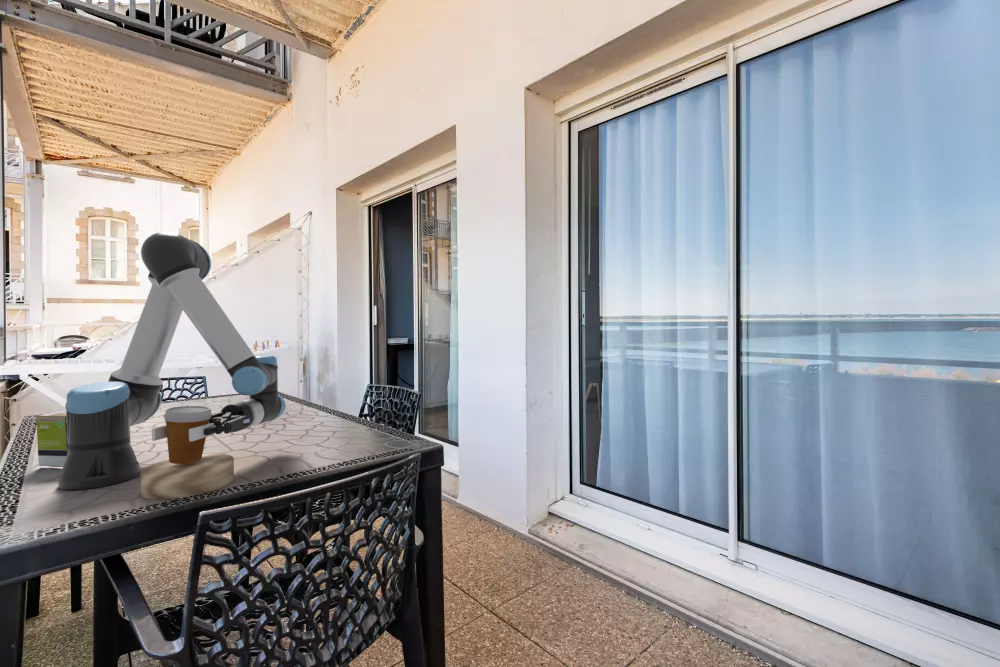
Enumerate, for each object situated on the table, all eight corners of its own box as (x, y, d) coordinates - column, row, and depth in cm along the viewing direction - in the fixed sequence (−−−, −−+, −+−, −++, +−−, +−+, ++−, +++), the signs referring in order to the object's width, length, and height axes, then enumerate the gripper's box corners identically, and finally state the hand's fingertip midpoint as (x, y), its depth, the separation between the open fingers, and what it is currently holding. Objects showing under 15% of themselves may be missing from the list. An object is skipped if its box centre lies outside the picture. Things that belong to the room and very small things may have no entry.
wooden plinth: (119, 498, 100) (118, 475, 100) (186, 472, 118) (185, 453, 118) (194, 501, 97) (193, 477, 97) (250, 474, 115) (250, 454, 115)
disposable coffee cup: (191, 468, 103) (195, 414, 103) (149, 464, 103) (153, 411, 103) (218, 456, 112) (221, 407, 112) (180, 452, 112) (183, 404, 112)
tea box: (94, 453, 138) (93, 404, 138) (123, 454, 136) (121, 405, 136) (36, 469, 123) (35, 414, 123) (67, 470, 121) (65, 414, 121)
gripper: (278, 429, 124) (215, 452, 101) (206, 428, 127) (130, 450, 104) (277, 402, 124) (214, 418, 101) (205, 401, 126) (129, 417, 104)
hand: (171, 435), depth 103 cm, fingers open, 9 cm apart
